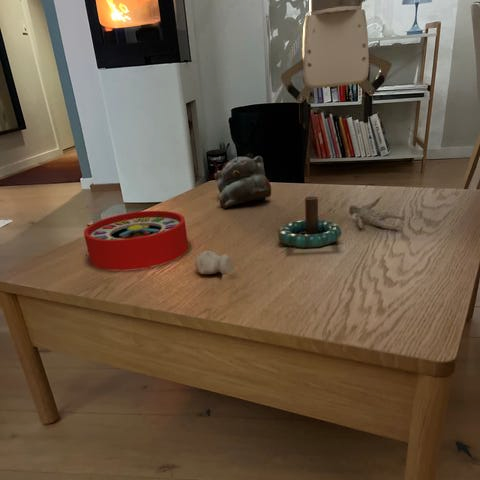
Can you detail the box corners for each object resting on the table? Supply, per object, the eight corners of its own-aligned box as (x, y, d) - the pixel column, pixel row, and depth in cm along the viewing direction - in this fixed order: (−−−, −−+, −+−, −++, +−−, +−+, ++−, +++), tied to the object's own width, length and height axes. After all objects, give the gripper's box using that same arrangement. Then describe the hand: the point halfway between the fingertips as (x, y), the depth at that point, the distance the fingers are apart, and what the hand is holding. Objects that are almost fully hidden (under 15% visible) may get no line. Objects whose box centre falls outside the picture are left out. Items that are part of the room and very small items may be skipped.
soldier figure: (387, 240, 95) (337, 215, 100) (389, 248, 100) (341, 224, 105) (409, 207, 95) (358, 184, 100) (410, 218, 100) (361, 195, 105)
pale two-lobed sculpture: (193, 278, 86) (213, 262, 88) (220, 289, 80) (241, 271, 82) (184, 258, 83) (205, 242, 85) (211, 268, 78) (233, 251, 80)
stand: (332, 236, 97) (333, 191, 93) (337, 251, 89) (338, 202, 85) (288, 238, 98) (287, 193, 94) (289, 253, 90) (288, 205, 86)
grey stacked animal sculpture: (211, 210, 122) (200, 157, 122) (230, 216, 133) (220, 168, 133) (265, 192, 116) (253, 137, 116) (280, 200, 127) (269, 150, 127)
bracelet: (336, 227, 98) (336, 216, 97) (344, 247, 87) (345, 234, 86) (278, 231, 99) (277, 220, 98) (279, 251, 88) (278, 238, 87)
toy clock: (129, 208, 107) (203, 213, 98) (134, 233, 110) (206, 241, 101) (61, 235, 92) (141, 245, 83) (69, 263, 95) (147, 276, 85)
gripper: (388, -2, 74) (384, 117, 81) (277, 12, 75) (283, 127, 83) (399, -9, 67) (393, 122, 75) (276, 7, 69) (283, 132, 77)
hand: (335, 125), depth 79 cm, fingers open, 9 cm apart
